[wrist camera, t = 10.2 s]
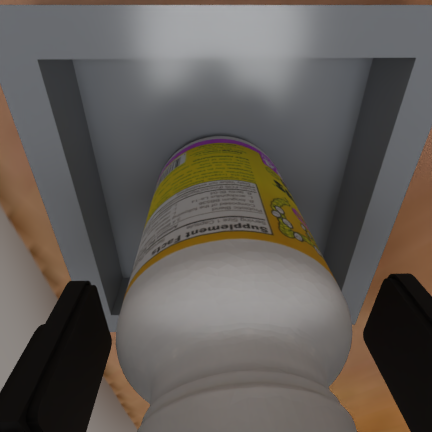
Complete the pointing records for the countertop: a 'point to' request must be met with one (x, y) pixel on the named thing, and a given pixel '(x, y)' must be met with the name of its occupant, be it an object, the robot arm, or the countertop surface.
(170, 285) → the supplement bottle
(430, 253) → the countertop surface
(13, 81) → the gray rectangular tray
